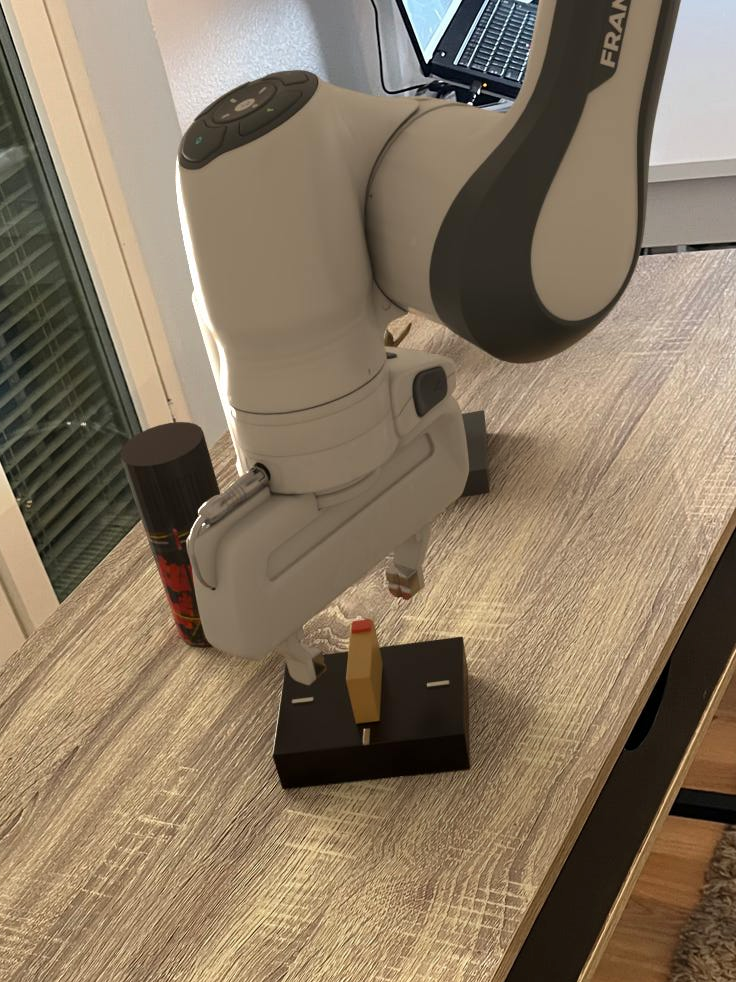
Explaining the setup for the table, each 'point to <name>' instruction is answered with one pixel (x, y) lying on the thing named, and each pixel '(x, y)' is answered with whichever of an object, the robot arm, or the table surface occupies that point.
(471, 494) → the bell box
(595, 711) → the table surface
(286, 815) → the table surface
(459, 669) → the black flat block
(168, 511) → the deodorant
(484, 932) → the table surface
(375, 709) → the lock knob
